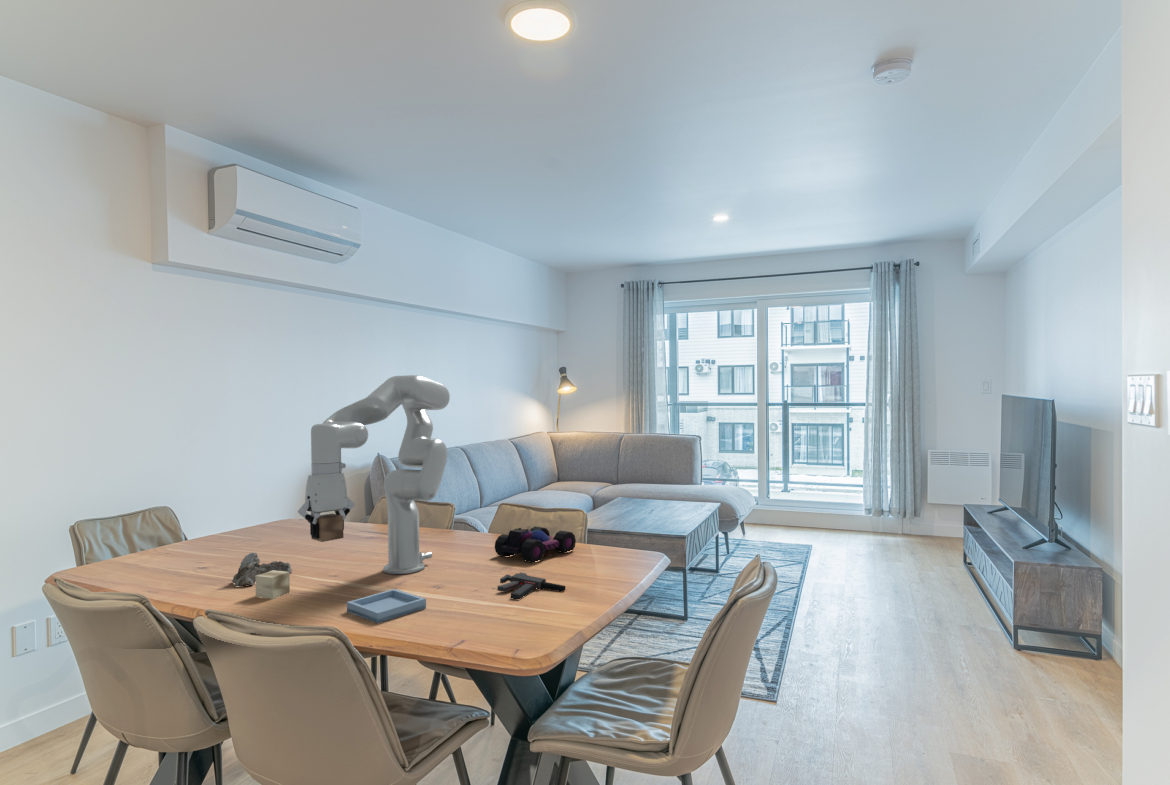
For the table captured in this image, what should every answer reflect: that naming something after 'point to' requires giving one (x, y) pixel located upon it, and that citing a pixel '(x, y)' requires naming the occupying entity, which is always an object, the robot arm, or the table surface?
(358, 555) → the table surface
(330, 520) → the walnut cube
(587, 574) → the table surface
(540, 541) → the toy car
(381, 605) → the tray
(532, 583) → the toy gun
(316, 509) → the robot arm
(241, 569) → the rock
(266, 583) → the oak cube
